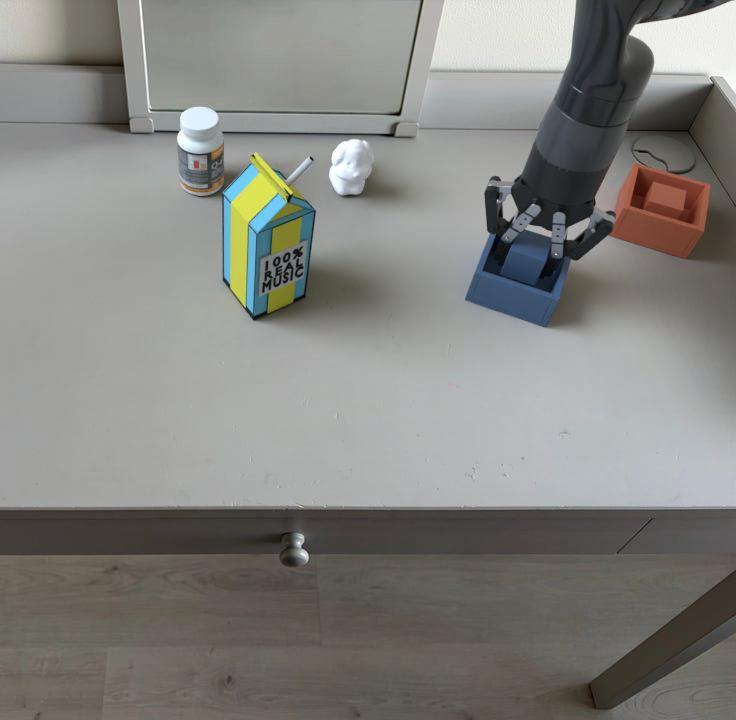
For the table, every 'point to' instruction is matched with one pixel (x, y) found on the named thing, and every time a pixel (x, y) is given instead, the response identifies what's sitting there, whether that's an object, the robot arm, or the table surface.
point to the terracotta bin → (655, 227)
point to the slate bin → (515, 288)
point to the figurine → (351, 166)
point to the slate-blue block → (527, 257)
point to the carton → (266, 238)
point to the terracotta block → (664, 200)
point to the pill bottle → (200, 151)
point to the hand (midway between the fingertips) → (521, 267)
